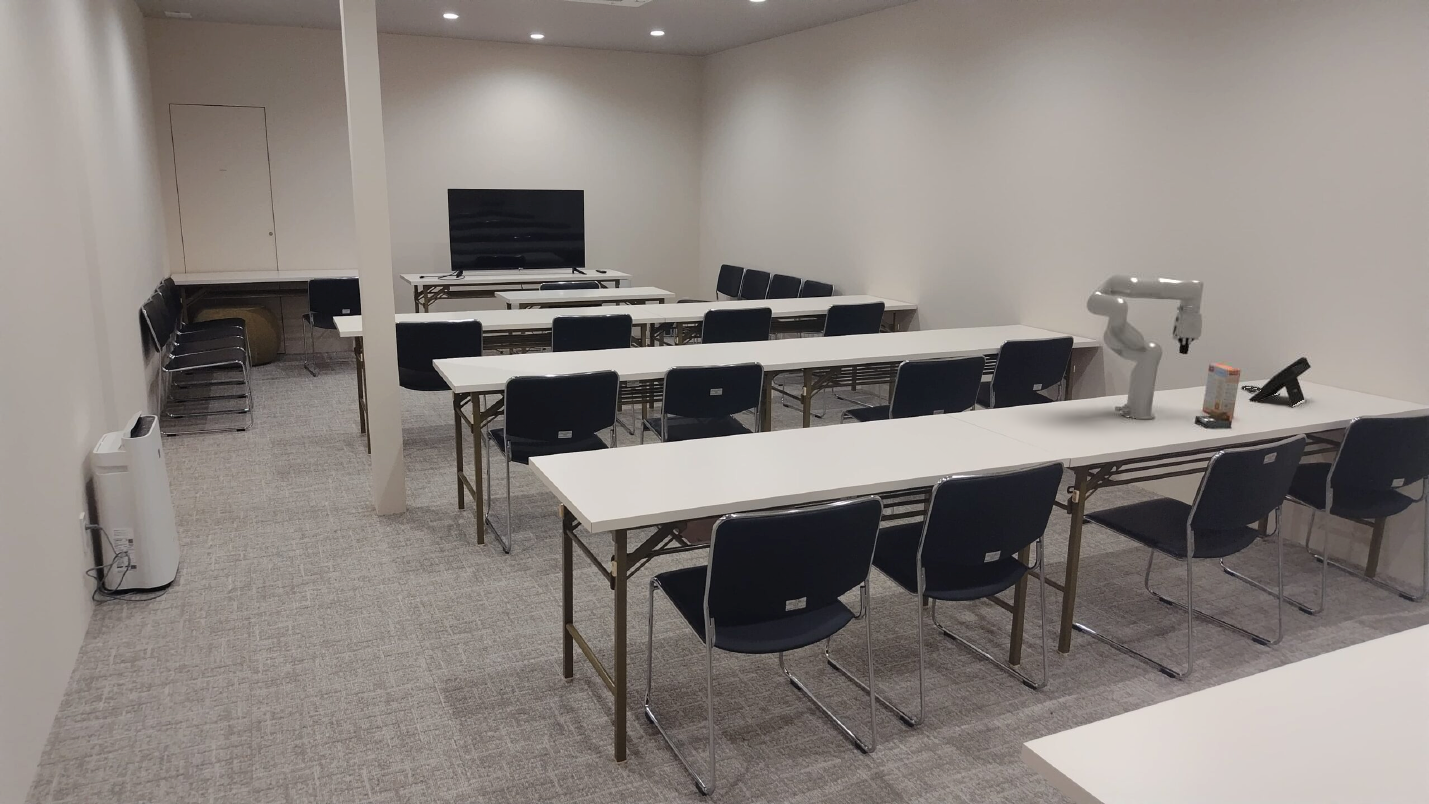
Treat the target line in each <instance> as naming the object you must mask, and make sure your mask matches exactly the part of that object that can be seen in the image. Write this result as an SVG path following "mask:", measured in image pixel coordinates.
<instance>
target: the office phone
mask: <svg viewBox="0 0 1429 804" xmlns="http://www.w3.org/2000/svg"><path fill="white" fill-rule="evenodd" d="M1311 368H1312V366H1311V364H1310V362H1309V361H1308V359H1307V357H1304V356H1302V357H1300V358H1299V359H1297V360H1295V361H1294V362H1292V363H1290V364H1289V365H1287V366H1286V367H1285V368H1283V369H1282V370H1281V371H1279V372H1277V374H1275V375H1273V377H1272V378H1270V379H1269V380H1268V381H1267V382H1266V383H1265V384H1264V385H1262V387H1260V386H1256V385H1242V386H1241V390H1242V389H1244V388H1245V390H1248V391H1249V392H1248V391H1247V392H1248V393H1251V392H1252V393H1251V394H1253V393H1255V394H1254V395H1253V396H1251V397H1250V398H1249V399H1248V400H1250V401H1249V402H1253V401H1258V402H1260V401H1262V399H1263V400H1265V399H1267V397H1268V398H1270V397H1272V395H1273V396H1275V395H1274V394H1276V393H1277V394H1278V395H1277V396H1281V395H1280V394H1281V393H1278V392H1281V390H1282V389H1284V388H1285V391H1286V393H1287V397H1288V400H1289V403H1290V405H1291V406H1290V407H1292V406H1293V405H1295V404H1297V403H1298V402H1300V401H1302V400H1304V399H1305V396H1304V394H1303V391H1302V387H1301V384H1300V382H1299V379H1298V377H1301V376H1302V374H1304V373H1305V372H1306V371H1308V370H1309V369H1311ZM1246 387H1251V388H1257V389H1258V390H1261V391H1258V390H1256V389H1251V388H1246ZM1245 390H1244V391H1245ZM1269 396H1270V397H1269ZM1264 398H1265V399H1264ZM1259 400H1260V401H1259Z"/></svg>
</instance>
